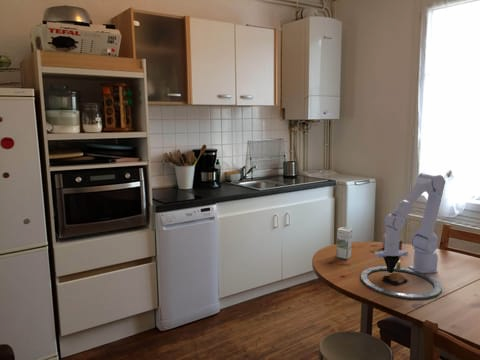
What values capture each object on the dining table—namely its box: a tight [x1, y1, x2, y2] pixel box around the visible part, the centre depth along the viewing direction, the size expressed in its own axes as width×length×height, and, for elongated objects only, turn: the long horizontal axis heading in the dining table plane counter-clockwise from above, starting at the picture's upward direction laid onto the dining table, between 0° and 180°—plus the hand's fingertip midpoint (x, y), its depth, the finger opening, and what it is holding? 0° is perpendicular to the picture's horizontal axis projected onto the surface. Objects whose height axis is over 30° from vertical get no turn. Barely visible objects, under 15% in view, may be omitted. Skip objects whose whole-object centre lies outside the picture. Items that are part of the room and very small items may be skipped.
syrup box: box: [336, 226, 353, 260], centre depth 193 cm, size 6×6×14 cm
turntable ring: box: [360, 258, 443, 300], centre depth 167 cm, size 31×36×3 cm
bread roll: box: [380, 272, 410, 287], centre depth 167 cm, size 11×8×4 cm
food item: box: [382, 232, 403, 250], centre depth 202 cm, size 14×8×10 cm, turn 176°
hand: (389, 272), depth 172 cm, fingers closed
